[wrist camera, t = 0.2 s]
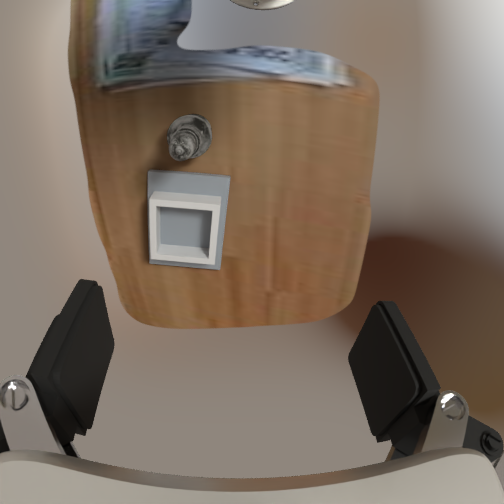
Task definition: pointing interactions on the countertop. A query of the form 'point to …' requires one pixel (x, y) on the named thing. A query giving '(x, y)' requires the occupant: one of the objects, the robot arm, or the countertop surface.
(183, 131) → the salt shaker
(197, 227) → the holder
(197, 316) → the countertop surface
